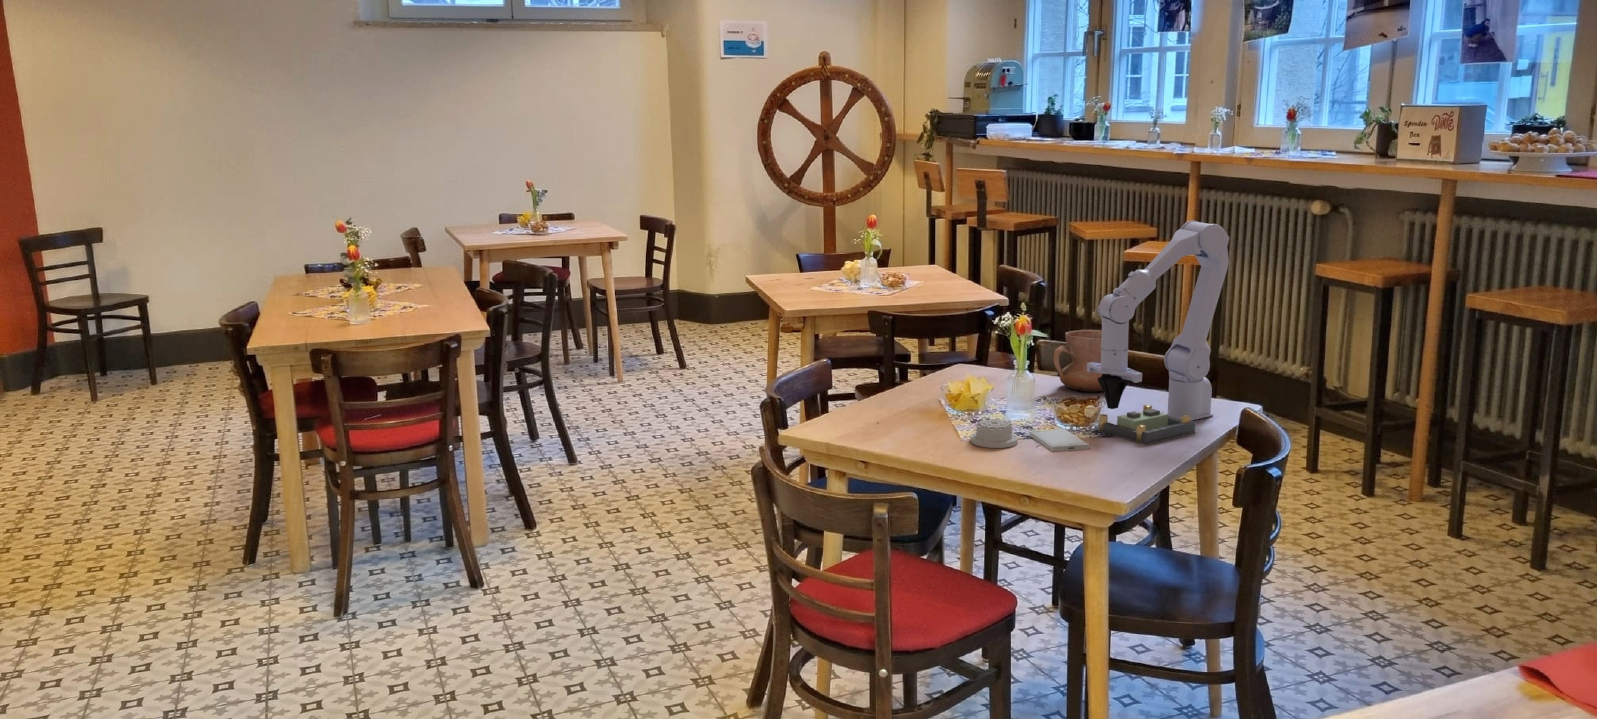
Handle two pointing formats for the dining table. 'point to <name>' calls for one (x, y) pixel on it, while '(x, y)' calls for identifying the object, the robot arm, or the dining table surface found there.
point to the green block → (1143, 419)
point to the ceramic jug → (1080, 360)
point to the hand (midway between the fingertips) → (1112, 407)
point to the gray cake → (994, 434)
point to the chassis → (1151, 436)
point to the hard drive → (1059, 440)
